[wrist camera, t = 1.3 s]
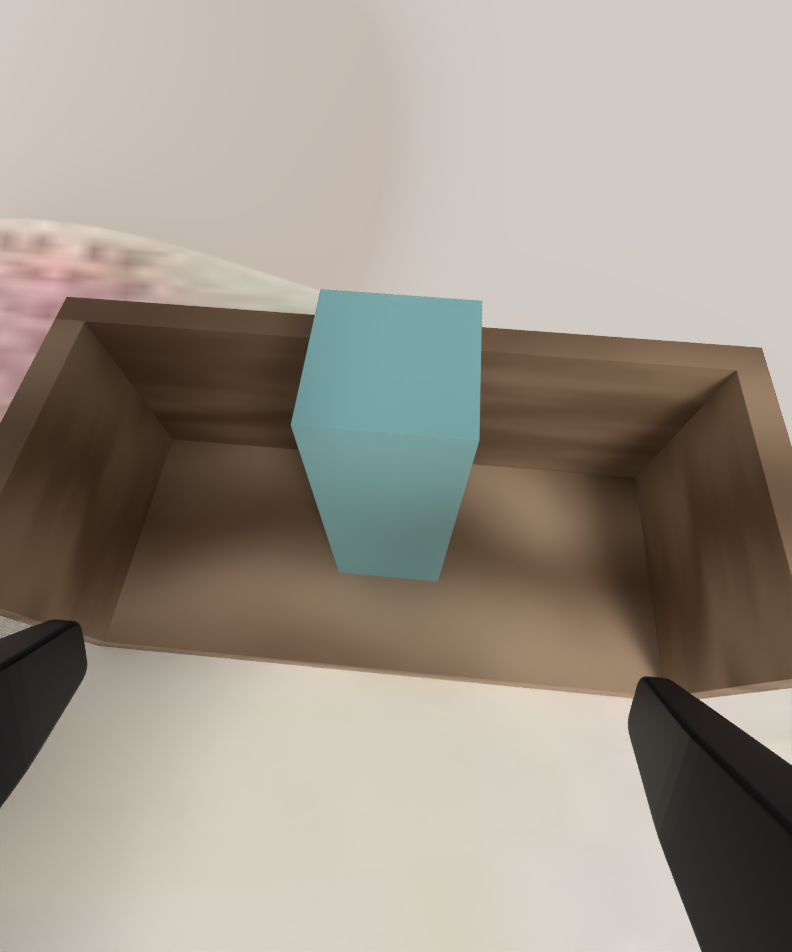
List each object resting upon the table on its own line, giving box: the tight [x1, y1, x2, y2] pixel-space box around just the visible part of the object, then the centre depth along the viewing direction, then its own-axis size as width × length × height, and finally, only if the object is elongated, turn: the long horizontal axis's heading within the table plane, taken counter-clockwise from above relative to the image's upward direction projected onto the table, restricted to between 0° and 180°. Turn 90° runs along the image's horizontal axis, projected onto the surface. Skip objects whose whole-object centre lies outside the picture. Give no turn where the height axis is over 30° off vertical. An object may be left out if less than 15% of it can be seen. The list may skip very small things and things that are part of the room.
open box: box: [0, 297, 792, 699], centre depth 19 cm, size 10×23×9 cm, turn 85°
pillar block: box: [291, 289, 482, 582], centre depth 17 cm, size 4×4×11 cm
